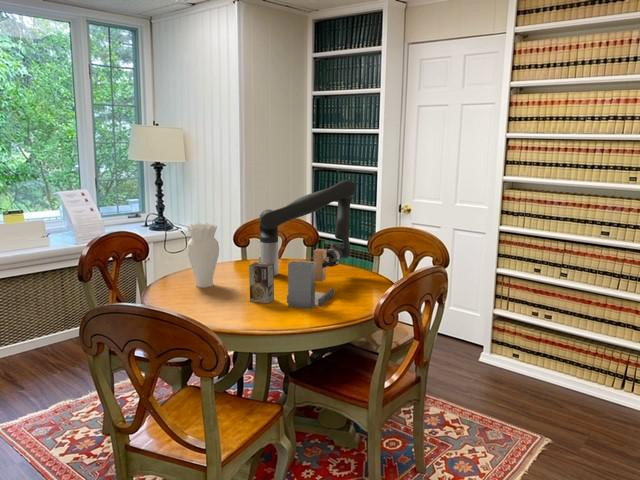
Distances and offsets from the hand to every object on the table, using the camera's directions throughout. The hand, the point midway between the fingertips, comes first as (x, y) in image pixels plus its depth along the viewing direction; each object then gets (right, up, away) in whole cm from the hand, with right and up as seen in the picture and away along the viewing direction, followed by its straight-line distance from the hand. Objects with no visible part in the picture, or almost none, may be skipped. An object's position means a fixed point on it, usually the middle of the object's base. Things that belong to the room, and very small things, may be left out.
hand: (317, 265), depth 241 cm
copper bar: (+1, -7, +4) cm, 8 cm away
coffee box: (-24, -15, -9) cm, 30 cm away
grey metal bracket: (-4, -15, -8) cm, 18 cm away
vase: (-54, -10, +14) cm, 57 cm away
